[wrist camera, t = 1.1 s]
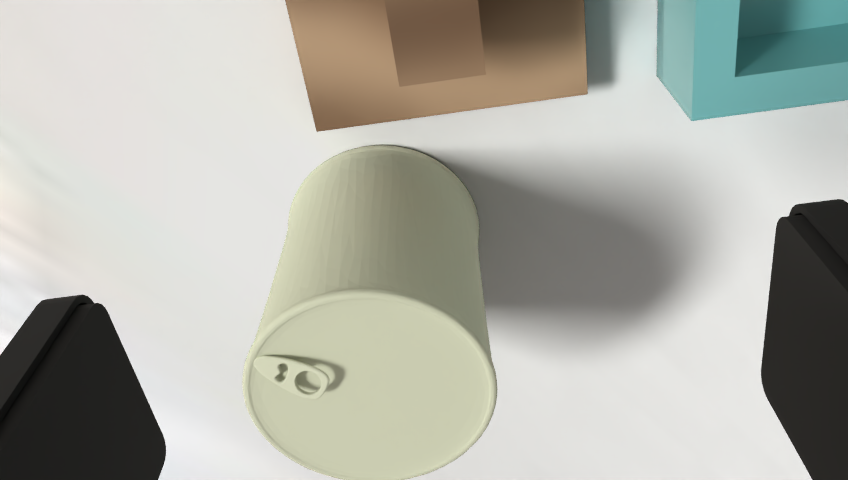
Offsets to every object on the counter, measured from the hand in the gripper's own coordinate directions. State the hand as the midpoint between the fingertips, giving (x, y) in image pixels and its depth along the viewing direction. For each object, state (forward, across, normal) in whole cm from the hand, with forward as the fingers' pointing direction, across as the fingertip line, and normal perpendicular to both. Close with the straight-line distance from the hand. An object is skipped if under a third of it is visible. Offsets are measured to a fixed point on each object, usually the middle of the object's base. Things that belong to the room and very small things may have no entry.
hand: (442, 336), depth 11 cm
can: (+24, +4, +12) cm, 27 cm away
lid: (+23, 0, 0) cm, 23 cm away
